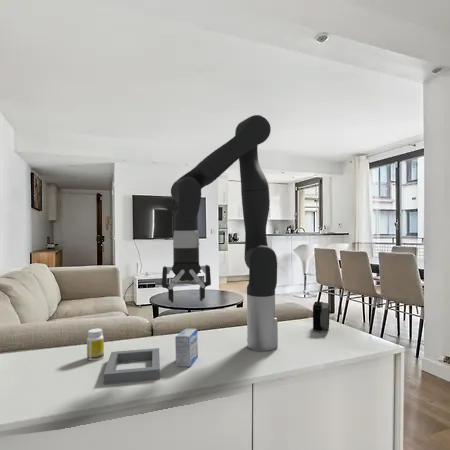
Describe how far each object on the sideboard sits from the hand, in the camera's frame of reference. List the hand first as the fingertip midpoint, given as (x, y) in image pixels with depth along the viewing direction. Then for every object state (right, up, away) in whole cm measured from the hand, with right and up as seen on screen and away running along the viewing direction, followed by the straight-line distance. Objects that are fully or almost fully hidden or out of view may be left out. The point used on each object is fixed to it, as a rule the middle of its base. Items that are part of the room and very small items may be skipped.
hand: (186, 301), depth 101 cm
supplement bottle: (-28, -18, +3) cm, 34 cm away
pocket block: (-14, -18, -5) cm, 23 cm away
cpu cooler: (+48, -18, +30) cm, 59 cm away
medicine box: (0, -18, 0) cm, 18 cm away
